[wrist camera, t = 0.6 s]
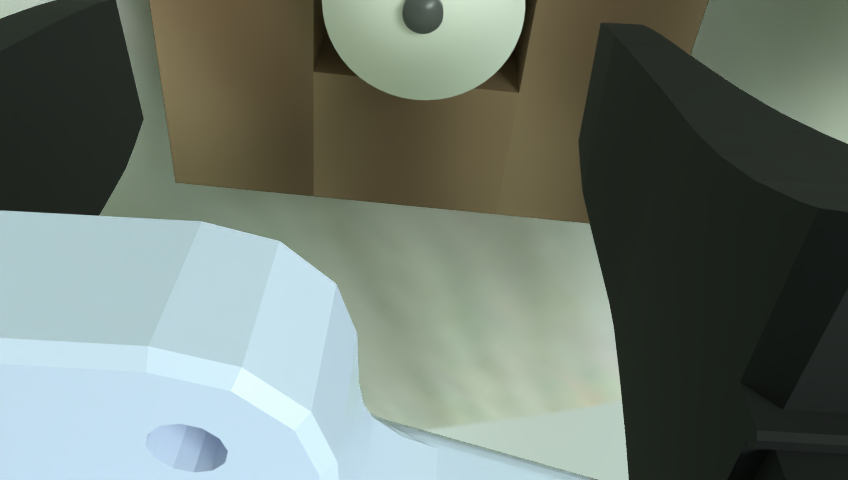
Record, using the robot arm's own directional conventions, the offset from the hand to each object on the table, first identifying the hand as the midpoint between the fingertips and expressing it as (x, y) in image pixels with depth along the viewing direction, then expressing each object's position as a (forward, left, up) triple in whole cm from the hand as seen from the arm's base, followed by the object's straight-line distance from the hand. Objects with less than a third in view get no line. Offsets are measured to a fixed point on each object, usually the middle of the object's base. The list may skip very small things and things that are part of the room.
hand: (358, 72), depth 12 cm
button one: (-1, +1, -6) cm, 6 cm away
